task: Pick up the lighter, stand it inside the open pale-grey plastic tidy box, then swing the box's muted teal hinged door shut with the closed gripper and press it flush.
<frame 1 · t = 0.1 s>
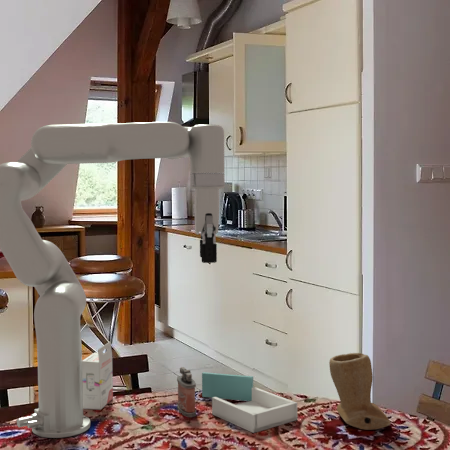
hand: (208, 259, 152), 37 cm above the table, tool pointing down, fingers open, 9 cm apart
tidy box: (254, 417, 160), on the table
lighter: (186, 412, 164), on the table
clay boot vessel: (356, 421, 157), on the table
box door: (227, 386, 172), point 3 cm above the table, hinge at 55.0°
ink cartridge box: (97, 404, 169), on the table
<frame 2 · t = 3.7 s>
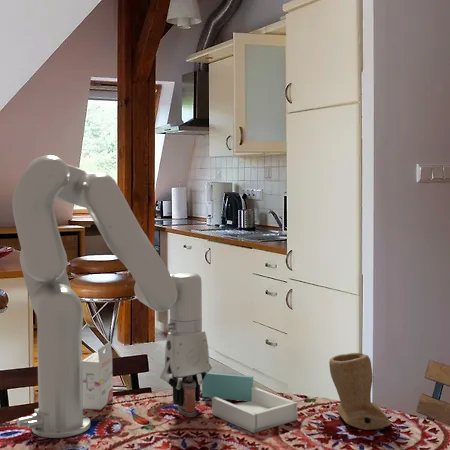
hand: (186, 401, 164), 2 cm above the table, tool pointing down, fingers closed on lighter, 4 cm apart
lighter: (186, 412, 164), on the table, touching gripper
everything else where it was.
when the fingers open (4 cm above the table, at t = 11.2 s): lighter drops 1 cm, resting on tidy box.
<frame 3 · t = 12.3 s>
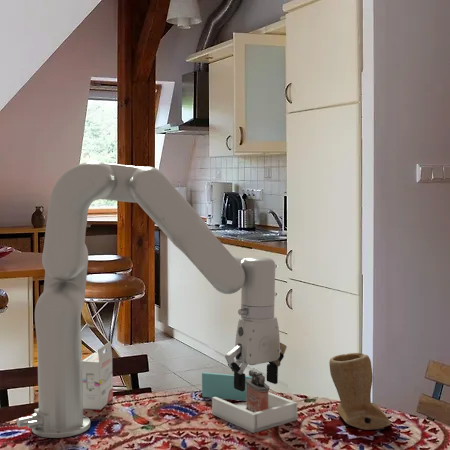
hand: (255, 386, 158), 8 cm above the table, tool pointing down, fingers open, 9 cm apart
lighter: (257, 416, 158), point 1 cm above the table, touching tidy box
everything else where it was.
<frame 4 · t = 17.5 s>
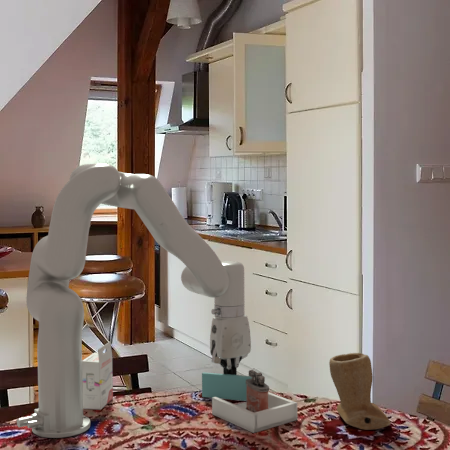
hand: (230, 382, 174), 3 cm above the table, tool pointing down, fingers closed
box door: (227, 386, 172), point 3 cm above the table, hinge at 54.7°, touching gripper
everything else where it was.
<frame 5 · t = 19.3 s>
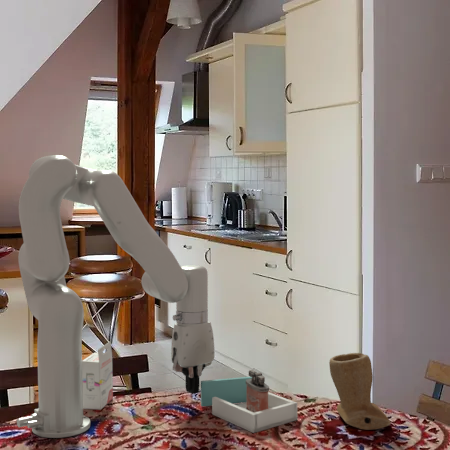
hand: (192, 391, 167), 3 cm above the table, tool pointing down, fingers closed
box door: (227, 391, 168), point 3 cm above the table, hinge at 21.8°
everything else where it was.
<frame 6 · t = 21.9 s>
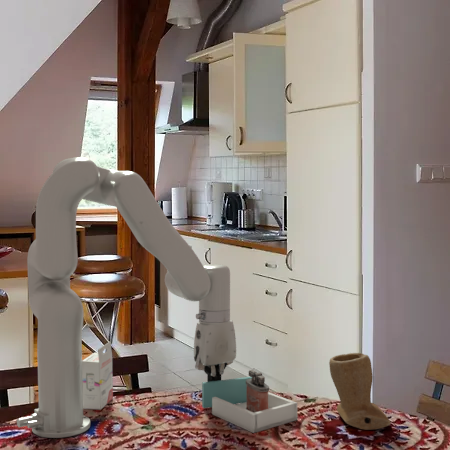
hand: (214, 390, 169), 3 cm above the table, tool pointing down, fingers closed
box door: (228, 392, 167), point 3 cm above the table, hinge at 16.0°, touching gripper
everything else where it was.
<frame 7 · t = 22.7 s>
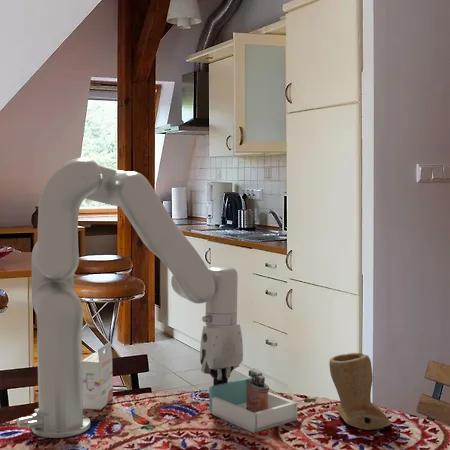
hand: (220, 394, 166), 3 cm above the table, tool pointing down, fingers closed
box door: (232, 394, 166), point 3 cm above the table, hinge at -1.0°, touching gripper
everything else where it was.
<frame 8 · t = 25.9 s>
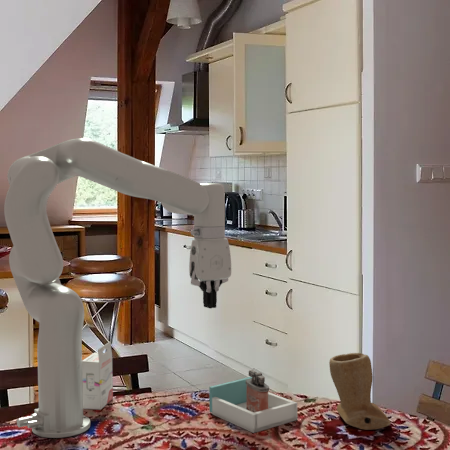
hand: (209, 307, 171), 23 cm above the table, tool pointing down, fingers closed
box door: (232, 394, 166), point 3 cm above the table, hinge at -1.1°
everything else where it was.
at the end: lighter inside the target area (1.4 cm from its centre), point 0.6 cm above the table; lighter tilted 0°; box door at -1° (first picture: +55°) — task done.
